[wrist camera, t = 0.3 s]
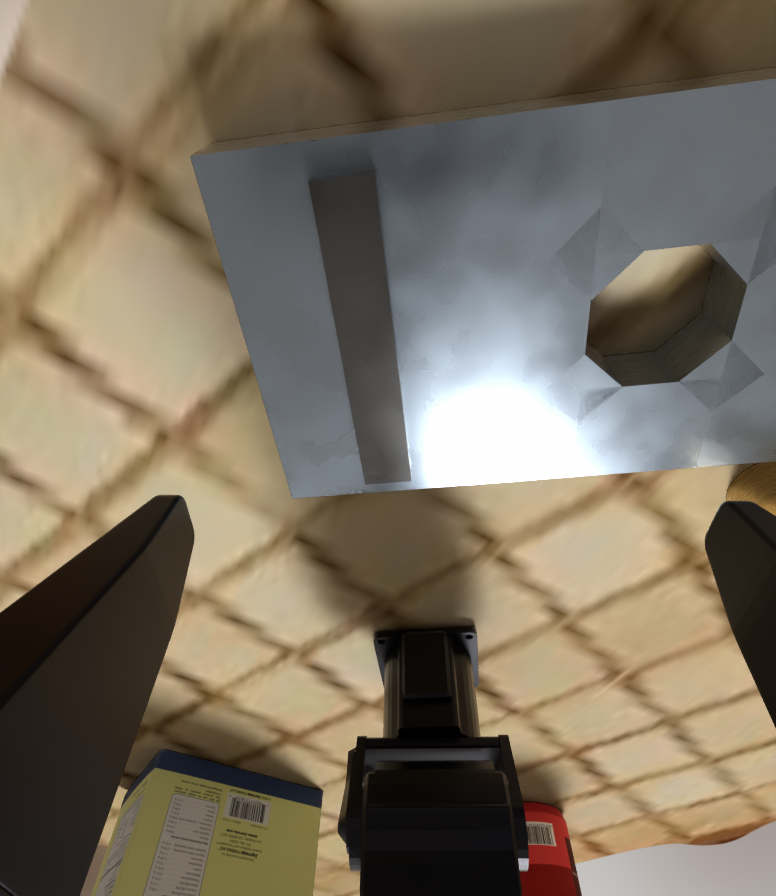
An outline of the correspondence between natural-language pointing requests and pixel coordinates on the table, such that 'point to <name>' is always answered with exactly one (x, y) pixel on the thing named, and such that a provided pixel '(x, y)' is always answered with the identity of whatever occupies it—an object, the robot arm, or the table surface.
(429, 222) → the jig
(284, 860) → the protein box
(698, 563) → the table surface
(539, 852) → the canned food
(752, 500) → the cylinder
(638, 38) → the table surface
